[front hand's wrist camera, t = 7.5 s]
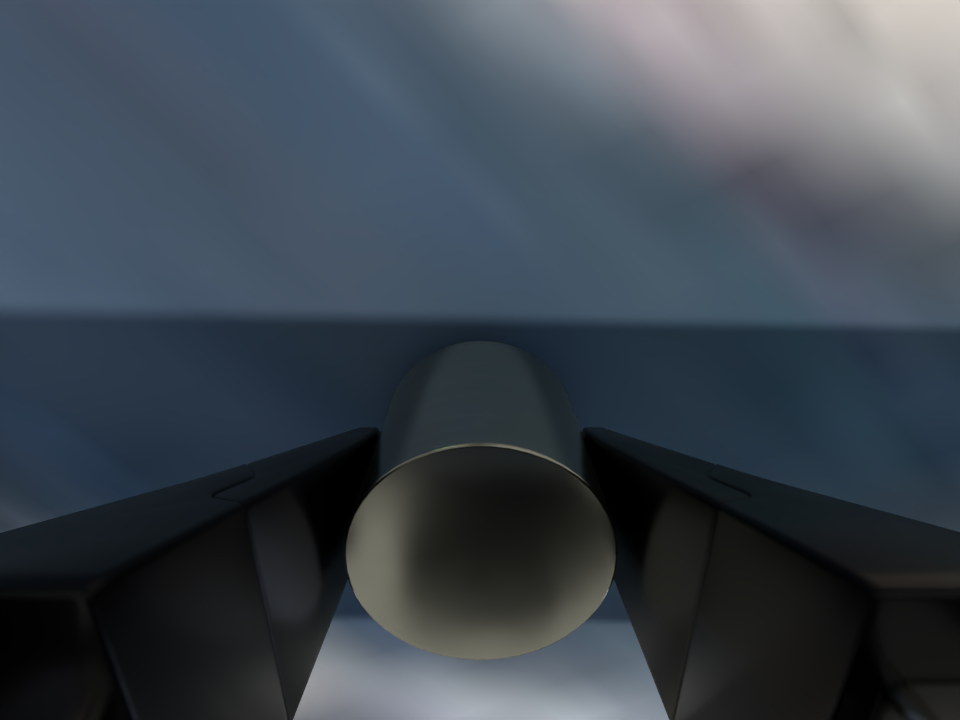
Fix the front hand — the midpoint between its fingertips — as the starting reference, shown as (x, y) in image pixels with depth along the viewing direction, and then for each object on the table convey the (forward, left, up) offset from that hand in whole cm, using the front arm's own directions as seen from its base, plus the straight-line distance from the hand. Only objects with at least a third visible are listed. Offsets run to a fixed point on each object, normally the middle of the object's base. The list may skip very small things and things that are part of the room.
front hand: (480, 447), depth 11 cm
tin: (0, 0, -1) cm, 1 cm away
